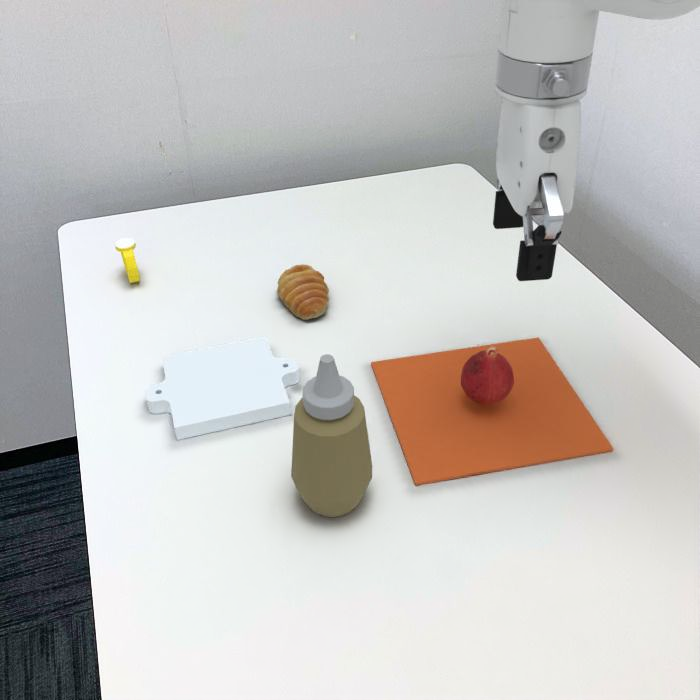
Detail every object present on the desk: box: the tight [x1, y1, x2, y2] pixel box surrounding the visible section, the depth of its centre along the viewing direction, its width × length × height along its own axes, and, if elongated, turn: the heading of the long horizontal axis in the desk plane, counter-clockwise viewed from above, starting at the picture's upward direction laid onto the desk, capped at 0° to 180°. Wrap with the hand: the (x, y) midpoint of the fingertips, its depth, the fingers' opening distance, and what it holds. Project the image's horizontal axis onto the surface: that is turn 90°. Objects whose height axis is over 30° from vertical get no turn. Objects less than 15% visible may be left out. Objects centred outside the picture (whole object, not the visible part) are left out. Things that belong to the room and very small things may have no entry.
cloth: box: [370, 337, 614, 486], centre depth 85 cm, size 22×20×1 cm
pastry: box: [276, 263, 330, 321], centre depth 100 cm, size 9×7×4 cm
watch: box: [114, 237, 141, 284], centre depth 105 cm, size 6×3×6 cm, turn 23°
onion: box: [461, 347, 514, 404], centre depth 82 cm, size 6×6×8 cm
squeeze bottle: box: [290, 353, 373, 518], centre depth 69 cm, size 8×8×18 cm
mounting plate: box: [144, 335, 301, 441], centre depth 87 cm, size 18×13×2 cm
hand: (520, 251), depth 72 cm, fingers open, 9 cm apart
